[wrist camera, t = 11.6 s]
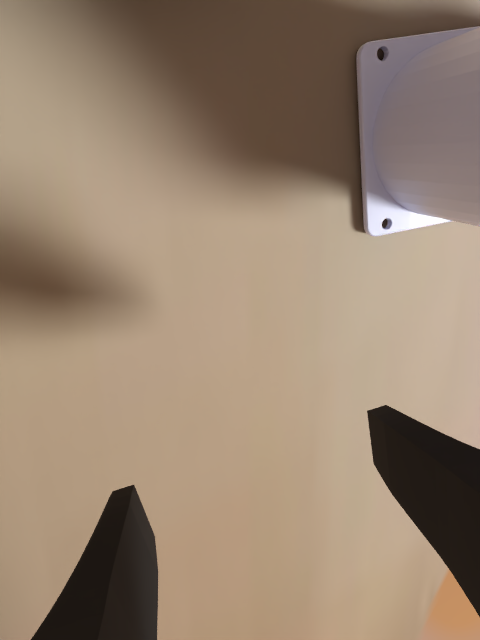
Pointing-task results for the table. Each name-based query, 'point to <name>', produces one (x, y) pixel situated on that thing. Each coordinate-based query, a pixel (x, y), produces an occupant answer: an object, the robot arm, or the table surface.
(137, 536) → the robot arm
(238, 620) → the table surface
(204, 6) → the table surface
